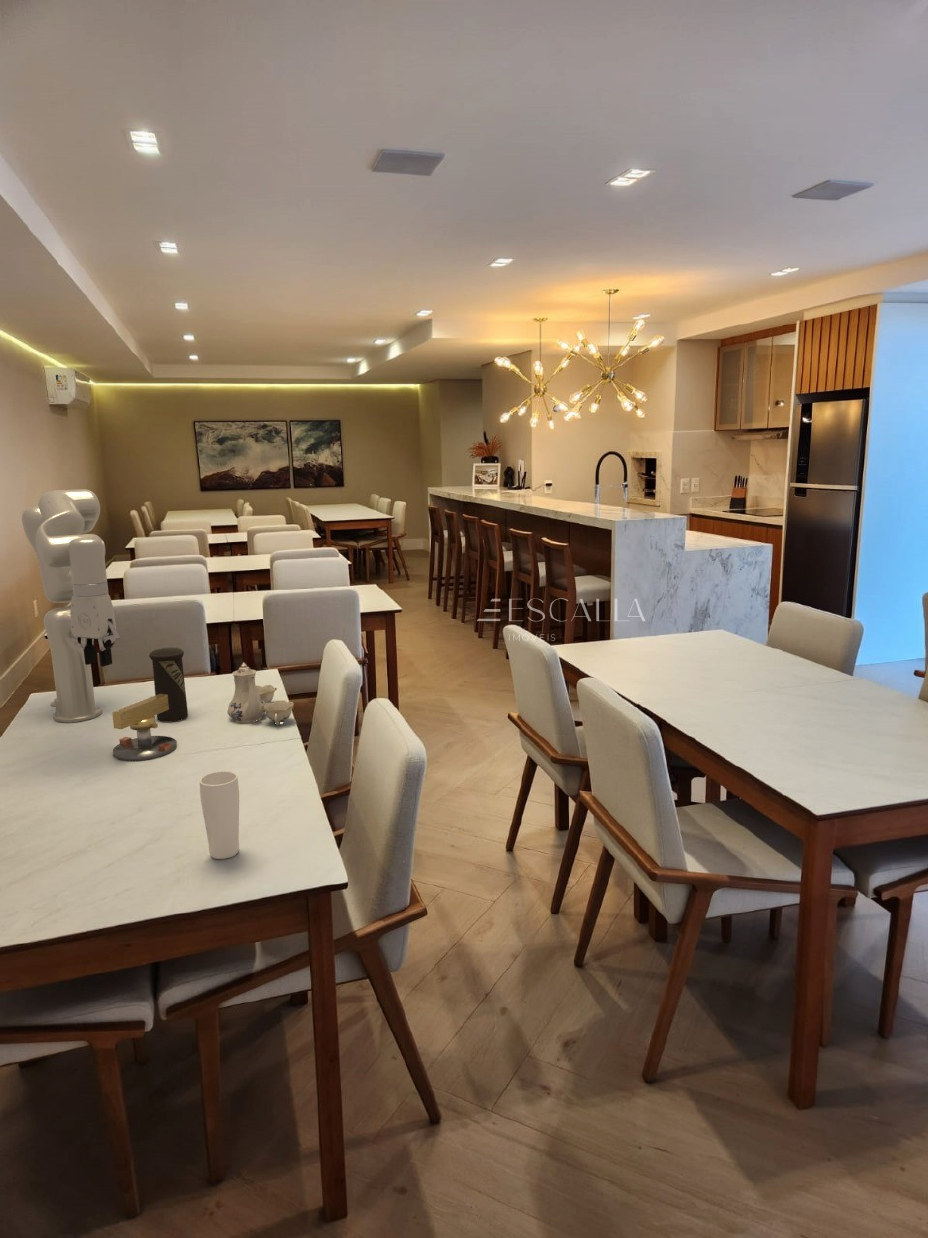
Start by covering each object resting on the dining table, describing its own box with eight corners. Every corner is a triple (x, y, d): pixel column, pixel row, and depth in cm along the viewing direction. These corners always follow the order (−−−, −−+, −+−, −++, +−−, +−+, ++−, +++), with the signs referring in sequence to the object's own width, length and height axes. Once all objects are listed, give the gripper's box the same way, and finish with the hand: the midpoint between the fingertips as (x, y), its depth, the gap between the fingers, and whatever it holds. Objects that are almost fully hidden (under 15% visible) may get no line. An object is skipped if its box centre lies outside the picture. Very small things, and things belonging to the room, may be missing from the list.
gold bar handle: (105, 734, 193) (102, 711, 192) (152, 714, 208) (150, 692, 207) (132, 739, 190) (129, 715, 189) (179, 718, 205) (177, 695, 203)
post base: (99, 756, 196) (96, 733, 195) (144, 736, 210) (142, 714, 209) (146, 764, 191) (144, 741, 189) (189, 743, 204) (187, 721, 203)
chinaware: (304, 730, 218) (307, 671, 216) (244, 736, 209) (247, 675, 206) (267, 704, 241) (269, 650, 238) (211, 709, 231) (213, 653, 229)
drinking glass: (210, 845, 151) (203, 771, 148) (246, 843, 152) (241, 770, 149) (201, 863, 145) (195, 786, 141) (239, 861, 145) (233, 784, 142)
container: (178, 724, 219) (172, 653, 215) (149, 722, 221) (142, 652, 217) (195, 714, 228) (189, 646, 223) (166, 712, 229) (160, 644, 225)
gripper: (51, 590, 189) (60, 665, 193) (105, 594, 183) (113, 671, 186) (77, 585, 196) (85, 657, 199) (129, 589, 189) (137, 663, 193)
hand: (98, 663), depth 193 cm, fingers open, 4 cm apart
